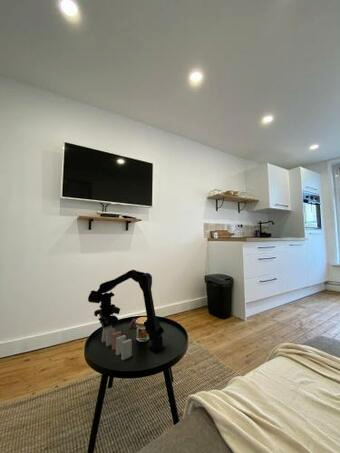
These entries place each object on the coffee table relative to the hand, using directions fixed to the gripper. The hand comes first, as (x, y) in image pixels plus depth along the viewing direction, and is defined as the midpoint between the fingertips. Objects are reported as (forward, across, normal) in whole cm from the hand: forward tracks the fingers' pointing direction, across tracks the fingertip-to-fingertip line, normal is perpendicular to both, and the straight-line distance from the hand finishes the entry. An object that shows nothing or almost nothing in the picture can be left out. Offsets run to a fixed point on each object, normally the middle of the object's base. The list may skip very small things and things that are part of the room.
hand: (105, 331), depth 118 cm
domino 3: (+5, -12, 0) cm, 13 cm away
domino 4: (+5, -18, 0) cm, 18 cm away
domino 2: (+5, -7, 0) cm, 8 cm away
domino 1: (+5, -1, 0) cm, 5 cm away
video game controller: (+5, 0, -22) cm, 22 cm away
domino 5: (+5, -23, 0) cm, 24 cm away
